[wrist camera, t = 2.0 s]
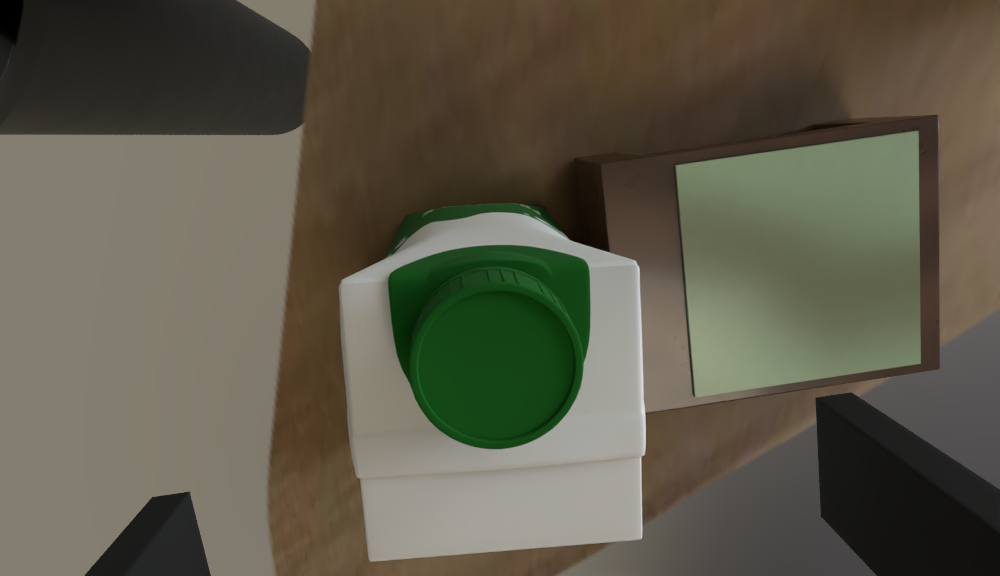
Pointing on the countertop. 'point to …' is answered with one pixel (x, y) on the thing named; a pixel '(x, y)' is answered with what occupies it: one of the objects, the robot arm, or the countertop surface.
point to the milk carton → (494, 386)
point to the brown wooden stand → (777, 257)
